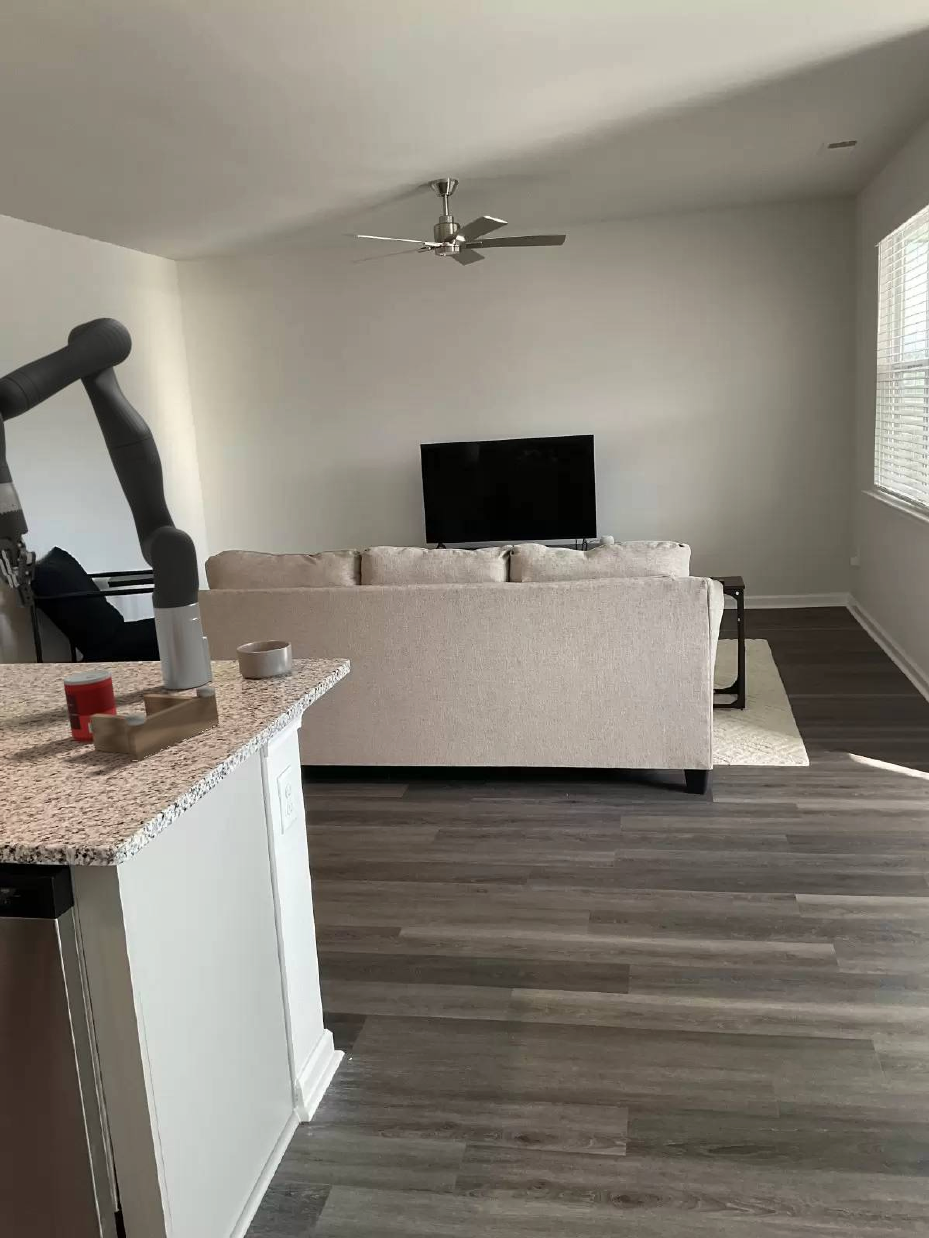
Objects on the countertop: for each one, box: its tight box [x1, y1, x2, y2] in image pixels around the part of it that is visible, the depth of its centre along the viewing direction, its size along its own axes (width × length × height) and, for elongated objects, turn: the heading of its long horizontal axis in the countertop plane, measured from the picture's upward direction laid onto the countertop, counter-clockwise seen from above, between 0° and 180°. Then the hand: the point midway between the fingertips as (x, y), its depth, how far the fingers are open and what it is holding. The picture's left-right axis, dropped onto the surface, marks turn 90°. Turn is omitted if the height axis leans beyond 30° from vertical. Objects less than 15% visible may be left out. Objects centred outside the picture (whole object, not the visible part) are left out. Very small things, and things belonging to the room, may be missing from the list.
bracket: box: [90, 685, 220, 761], centre depth 170 cm, size 13×20×7 cm, turn 154°
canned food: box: [63, 669, 118, 743], centre depth 175 cm, size 8×8×11 cm
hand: (26, 606), depth 178 cm, fingers closed
